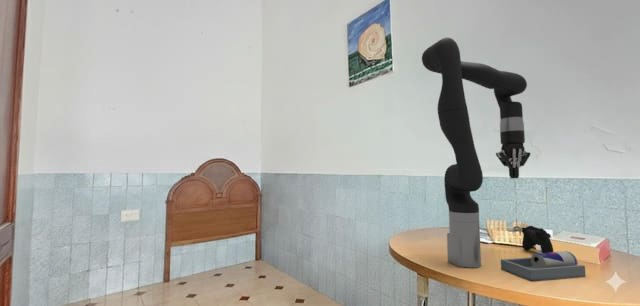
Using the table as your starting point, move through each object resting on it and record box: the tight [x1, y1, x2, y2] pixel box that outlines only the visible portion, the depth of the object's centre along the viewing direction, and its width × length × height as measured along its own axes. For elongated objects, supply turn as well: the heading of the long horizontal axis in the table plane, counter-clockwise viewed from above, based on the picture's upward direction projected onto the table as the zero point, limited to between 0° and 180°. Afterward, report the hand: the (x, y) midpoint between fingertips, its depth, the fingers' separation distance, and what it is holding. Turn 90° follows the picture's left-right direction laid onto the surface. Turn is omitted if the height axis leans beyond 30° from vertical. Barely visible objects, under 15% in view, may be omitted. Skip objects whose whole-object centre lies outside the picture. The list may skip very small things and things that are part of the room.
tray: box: [500, 256, 587, 282], centre depth 93 cm, size 18×11×3 cm, turn 102°
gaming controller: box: [521, 225, 554, 253], centre depth 114 cm, size 14×6×10 cm, turn 179°
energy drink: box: [531, 250, 579, 269], centre depth 93 cm, size 5×5×12 cm
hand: (514, 178), depth 112 cm, fingers closed
